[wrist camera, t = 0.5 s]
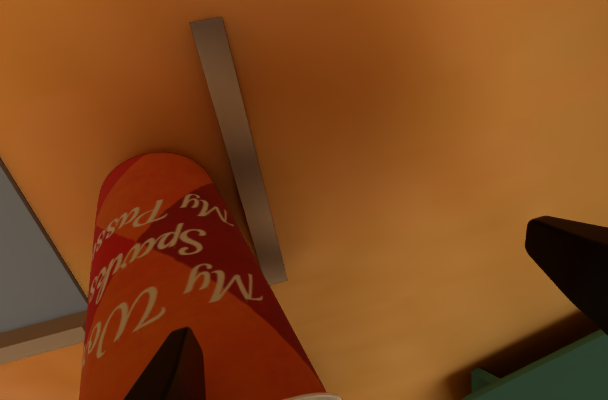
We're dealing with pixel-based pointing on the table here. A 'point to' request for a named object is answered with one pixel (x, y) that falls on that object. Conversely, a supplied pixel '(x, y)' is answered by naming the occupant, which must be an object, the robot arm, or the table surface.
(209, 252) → the coffee cup
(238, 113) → the strip
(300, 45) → the table surface
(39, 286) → the mat
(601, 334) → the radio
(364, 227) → the table surface
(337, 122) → the table surface
